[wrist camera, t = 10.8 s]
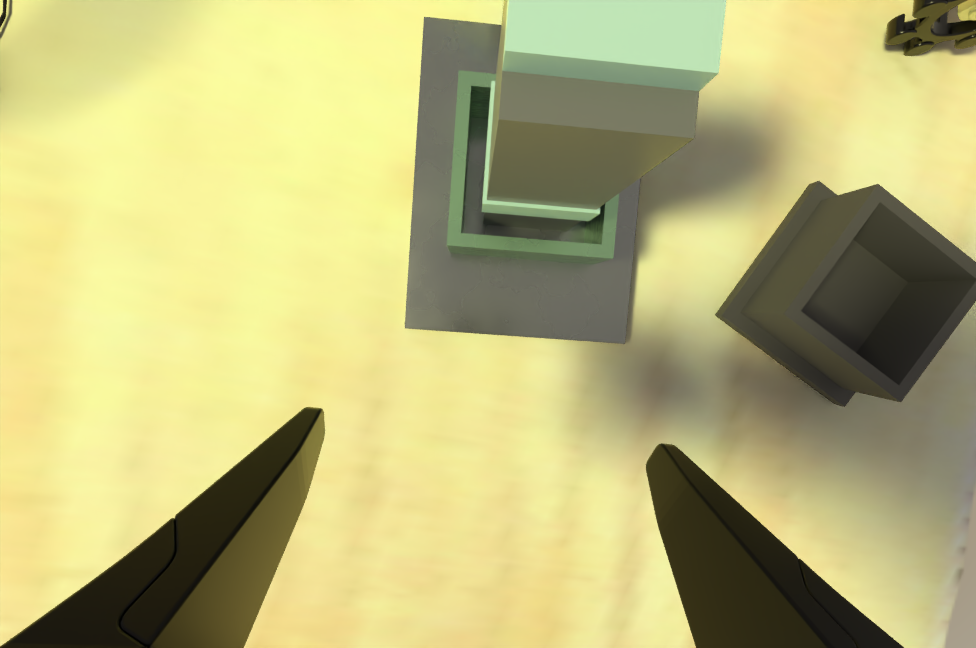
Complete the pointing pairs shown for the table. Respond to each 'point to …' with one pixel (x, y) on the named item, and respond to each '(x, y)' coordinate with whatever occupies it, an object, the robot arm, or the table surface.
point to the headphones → (3, 16)
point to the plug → (591, 101)
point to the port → (500, 249)
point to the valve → (933, 26)
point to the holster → (853, 294)
